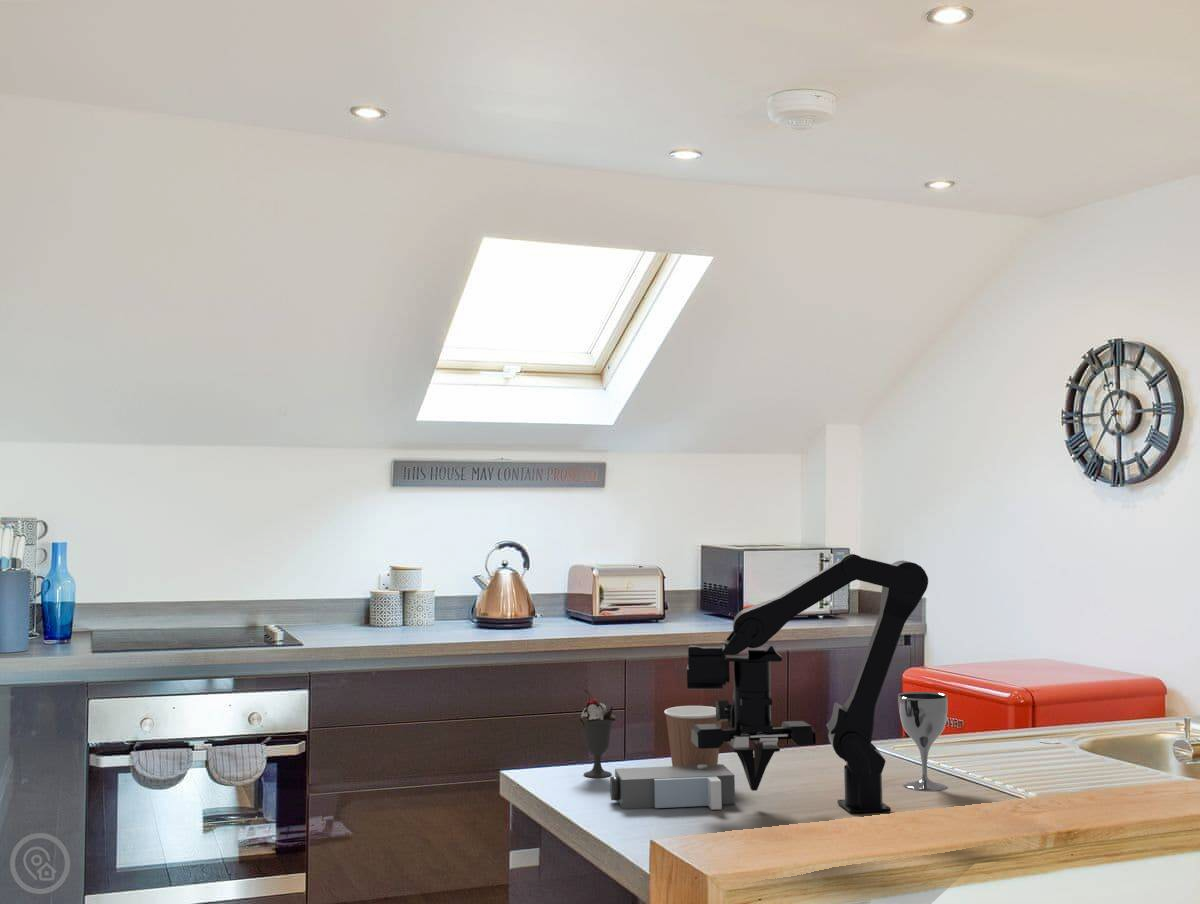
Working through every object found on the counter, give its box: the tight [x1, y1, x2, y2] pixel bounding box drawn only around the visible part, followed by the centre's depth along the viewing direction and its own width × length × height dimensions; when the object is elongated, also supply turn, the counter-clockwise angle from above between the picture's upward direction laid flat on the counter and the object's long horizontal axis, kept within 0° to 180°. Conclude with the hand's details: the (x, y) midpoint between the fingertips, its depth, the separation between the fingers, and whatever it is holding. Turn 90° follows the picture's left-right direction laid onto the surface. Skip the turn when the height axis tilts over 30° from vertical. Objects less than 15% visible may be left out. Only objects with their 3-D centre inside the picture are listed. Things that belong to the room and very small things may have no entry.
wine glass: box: [897, 691, 948, 792], centre depth 194 cm, size 8×8×15 cm
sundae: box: [578, 688, 616, 779], centre depth 205 cm, size 7×7×15 cm
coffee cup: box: [663, 705, 723, 766], centre depth 200 cm, size 10×10×12 cm
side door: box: [654, 776, 723, 810], centre depth 180 cm, size 3×10×4 cm, turn 97°
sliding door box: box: [609, 763, 736, 810], centre depth 186 cm, size 8×19×5 cm, turn 97°
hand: (753, 790), depth 181 cm, fingers closed
